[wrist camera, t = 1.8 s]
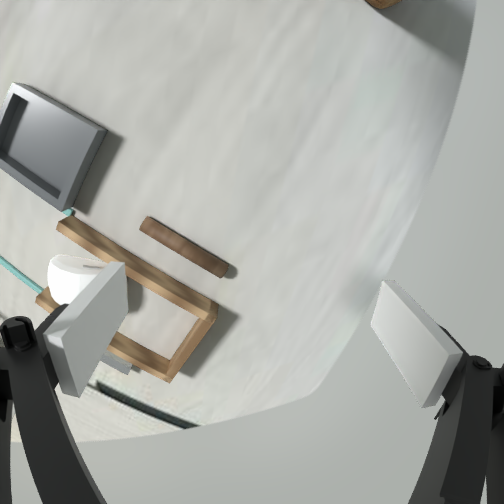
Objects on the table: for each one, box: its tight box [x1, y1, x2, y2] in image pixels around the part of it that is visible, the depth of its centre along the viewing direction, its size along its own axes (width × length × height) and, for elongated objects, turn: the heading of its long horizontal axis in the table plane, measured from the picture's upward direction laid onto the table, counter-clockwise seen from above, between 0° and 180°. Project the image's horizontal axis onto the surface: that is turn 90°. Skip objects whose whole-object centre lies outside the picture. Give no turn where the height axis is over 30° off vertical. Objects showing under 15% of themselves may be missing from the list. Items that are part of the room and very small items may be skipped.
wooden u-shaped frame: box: [35, 215, 219, 383], centre depth 40 cm, size 24×14×4 cm, turn 56°
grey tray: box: [0, 82, 108, 212], centre depth 32 cm, size 17×11×3 cm, turn 56°
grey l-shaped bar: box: [49, 315, 133, 375], centre depth 44 cm, size 16×7×2 cm, turn 58°
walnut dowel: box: [139, 216, 229, 278], centre depth 38 cm, size 12×2×2 cm
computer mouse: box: [48, 254, 127, 305], centre depth 37 cm, size 6×13×6 cm, turn 81°
